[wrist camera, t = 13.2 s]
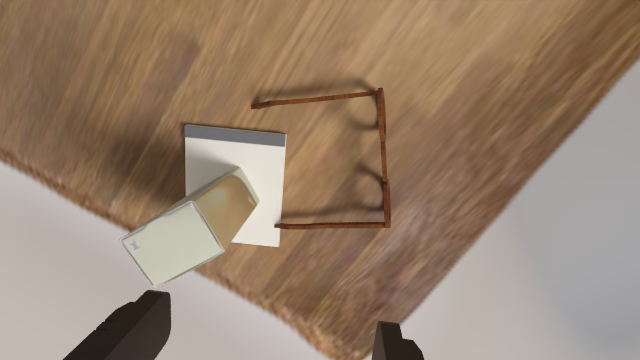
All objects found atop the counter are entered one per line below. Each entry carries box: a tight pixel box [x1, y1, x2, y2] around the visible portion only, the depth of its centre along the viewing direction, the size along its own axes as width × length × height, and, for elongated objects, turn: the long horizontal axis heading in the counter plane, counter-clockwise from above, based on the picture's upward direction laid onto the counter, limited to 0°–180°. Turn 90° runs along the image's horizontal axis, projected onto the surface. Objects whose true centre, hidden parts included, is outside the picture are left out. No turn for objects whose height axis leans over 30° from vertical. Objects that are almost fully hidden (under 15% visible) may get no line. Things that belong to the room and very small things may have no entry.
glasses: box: [251, 88, 391, 229], centre depth 32 cm, size 13×13×5 cm
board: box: [185, 125, 287, 247], centre depth 34 cm, size 12×10×1 cm
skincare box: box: [120, 167, 260, 287], centre depth 28 cm, size 6×4×12 cm
